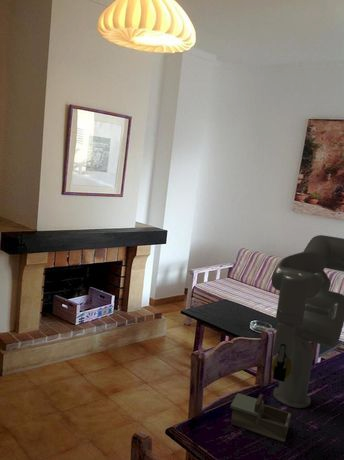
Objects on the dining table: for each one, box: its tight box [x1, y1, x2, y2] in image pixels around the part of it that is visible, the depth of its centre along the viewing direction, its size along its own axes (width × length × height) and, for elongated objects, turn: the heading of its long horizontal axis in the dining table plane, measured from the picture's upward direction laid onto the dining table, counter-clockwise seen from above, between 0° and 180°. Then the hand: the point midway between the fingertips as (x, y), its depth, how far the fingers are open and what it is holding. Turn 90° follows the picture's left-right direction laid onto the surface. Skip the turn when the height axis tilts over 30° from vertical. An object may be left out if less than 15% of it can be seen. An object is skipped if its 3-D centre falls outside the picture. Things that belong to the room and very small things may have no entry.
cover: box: [229, 392, 264, 417], centre depth 127 cm, size 9×8×3 cm
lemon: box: [271, 355, 292, 378], centre depth 122 cm, size 6×6×8 cm
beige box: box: [230, 403, 292, 443], centre depth 126 cm, size 9×16×4 cm, turn 67°
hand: (280, 375), depth 123 cm, fingers closed on lemon, 5 cm apart
